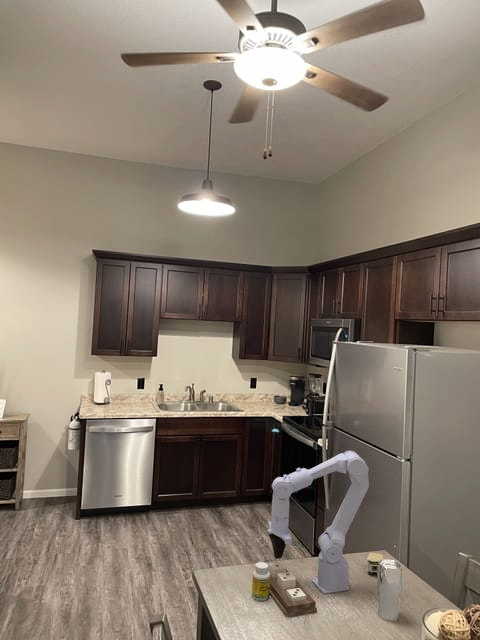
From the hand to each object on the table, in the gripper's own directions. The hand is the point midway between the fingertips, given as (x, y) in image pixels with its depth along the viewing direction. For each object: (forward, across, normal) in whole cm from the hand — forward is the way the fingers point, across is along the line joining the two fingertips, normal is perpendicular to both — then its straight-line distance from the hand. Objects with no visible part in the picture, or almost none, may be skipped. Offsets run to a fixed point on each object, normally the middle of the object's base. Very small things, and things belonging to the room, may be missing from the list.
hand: (278, 557), depth 153 cm
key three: (+7, +14, 0) cm, 15 cm away
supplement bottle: (+9, +6, -8) cm, 13 cm away
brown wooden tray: (+8, +7, 0) cm, 11 cm away
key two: (+6, +7, 0) cm, 9 cm away
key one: (+6, 0, 0) cm, 6 cm away
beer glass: (+9, +25, +25) cm, 36 cm away
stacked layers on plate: (+9, +2, +37) cm, 38 cm away
